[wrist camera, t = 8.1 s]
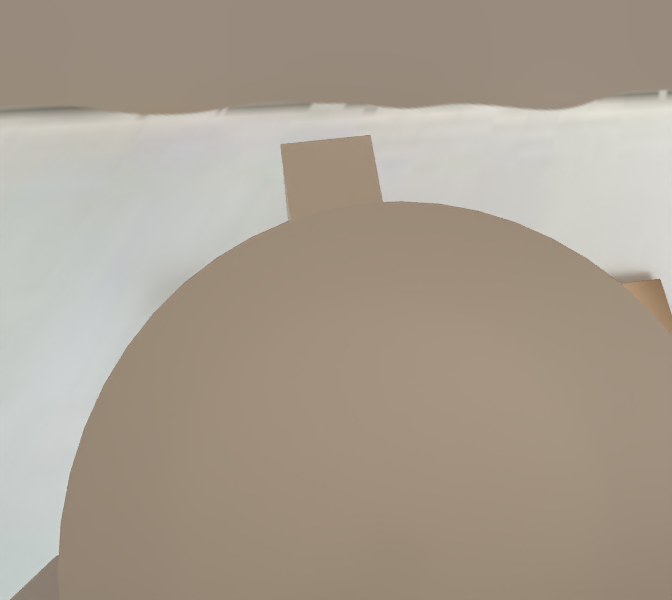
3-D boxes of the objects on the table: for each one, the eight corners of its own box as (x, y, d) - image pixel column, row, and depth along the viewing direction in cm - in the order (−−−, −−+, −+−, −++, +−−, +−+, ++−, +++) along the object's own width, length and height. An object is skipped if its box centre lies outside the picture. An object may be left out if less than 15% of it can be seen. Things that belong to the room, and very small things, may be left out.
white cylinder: (249, 630, 15) (56, 1065, 4) (222, 325, 18) (57, 37, 6) (470, 593, 16) (888, 881, 4) (414, 301, 18) (583, -8, 7)
